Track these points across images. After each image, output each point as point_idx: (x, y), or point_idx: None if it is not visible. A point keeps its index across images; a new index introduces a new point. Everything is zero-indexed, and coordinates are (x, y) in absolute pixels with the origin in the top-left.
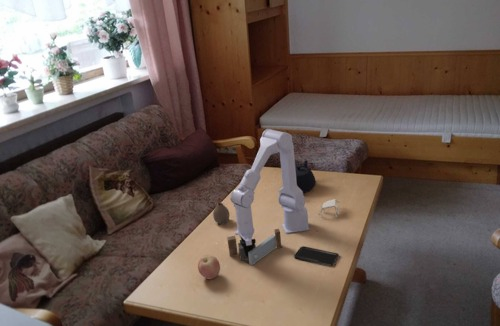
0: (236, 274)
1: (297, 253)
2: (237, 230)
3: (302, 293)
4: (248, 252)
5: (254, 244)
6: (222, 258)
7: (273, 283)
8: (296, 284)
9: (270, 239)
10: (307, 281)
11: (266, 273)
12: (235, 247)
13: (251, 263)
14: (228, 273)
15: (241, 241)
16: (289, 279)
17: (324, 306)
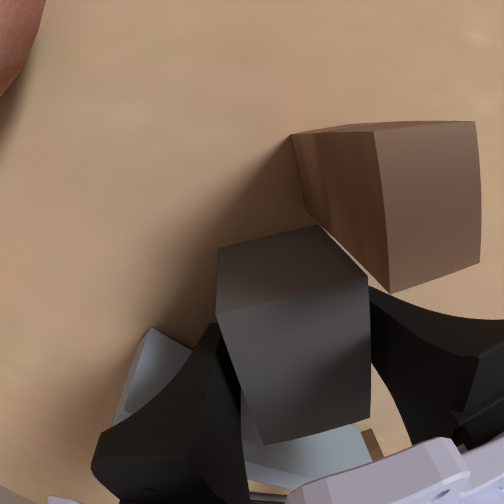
0: (28, 238)
1: (261, 502)
2: (449, 501)
3: (28, 471)
4: (124, 412)
5: (297, 434)
6: (258, 64)
7: (29, 420)
8: (59, 473)
9: None
10: (88, 495)
11: (83, 409)
12: (330, 220)
13: (136, 352)
14: (32, 171)
15: (142, 473)
16: (76, 466)
17: (13, 485)
